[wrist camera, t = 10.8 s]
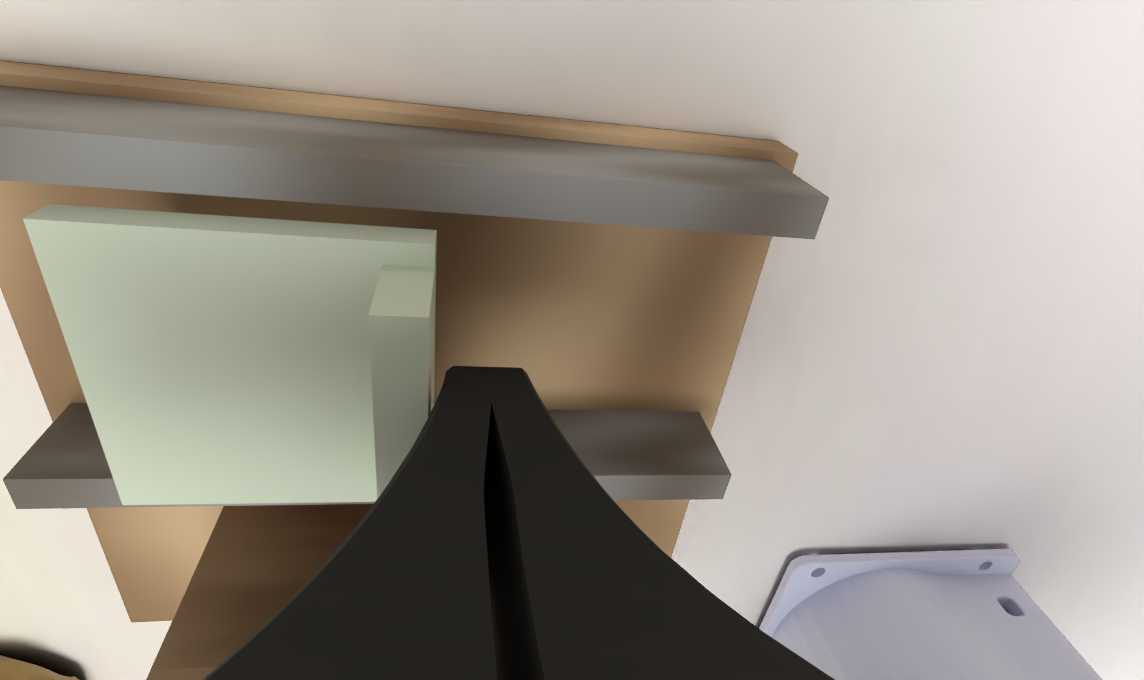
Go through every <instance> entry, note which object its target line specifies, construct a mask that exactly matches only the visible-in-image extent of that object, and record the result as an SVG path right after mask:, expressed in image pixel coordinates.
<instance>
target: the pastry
mask: <svg viewBox="0 0 1144 680" xmlns="http://www.w3.org/2000/svg"><path fill="white" fill-rule="evenodd" d="M0 680H79V679H78V678H76V677H75V676H73V677H67V676H63V675H59V674H57V673H55V672H53V671H50V670H48V669H45V668H43V667H40V666H37V665H34V664H31V663H27V662H23V661H19V660H16V659H12V658H9V657H5V656H1V655H0Z"/></svg>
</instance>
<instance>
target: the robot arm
mask: <svg viewBox="0 0 1144 680" xmlns="http://www.w3.org/2000/svg"><path fill="white" fill-rule="evenodd" d="M1019 562H1020V558H1019V556H1018V555H1017V554H1016V553H1015V552H1014V551H1013V550H1012V549H981V550H951V551H921V552H891V553H861V554H830V555H804V556H799V557H797V558H795V559H793V560H792V561H791V562H790V564H789V565H788V567H787V569H786V572H785V574H784V576H783V578H782V580H781V582H780V584H779V587H778V589H777V591H776V593H775V595H774V597H773V599H772V602H771V604H770V606H769V608H768V610H767V612H766V614H765V617H764V619H763V621H762V623H761V625H760V627H759V628H757V627H756V626H754V625H753V624H752V623H750V622H749V621H748V620H746V619H745V618H744V617H742V616H741V615H740V614H738V613H737V612H736V611H735V610H733V609H732V608H731V607H729V606H728V605H727V604H725V603H724V602H723V601H721V600H720V599H719V598H717V597H716V596H715V595H714V594H712V593H711V592H710V591H709V590H707V589H706V588H705V587H704V586H703V585H701V584H700V583H699V582H698V581H697V580H696V579H695V578H693V577H692V576H691V575H690V574H689V573H688V572H686V571H685V570H684V569H683V568H682V567H681V566H680V565H678V564H677V563H676V562H675V561H674V560H673V559H671V558H670V557H669V556H668V555H667V554H666V553H665V552H663V551H662V550H661V549H660V548H659V547H658V546H657V545H656V544H655V543H654V542H653V541H652V540H651V539H650V538H649V537H648V536H647V535H646V534H645V533H644V532H643V531H642V530H641V529H640V528H639V527H638V526H637V525H636V524H635V523H634V522H633V521H632V520H631V519H630V518H629V517H628V516H627V514H626V513H625V512H624V511H623V510H622V509H621V508H620V507H619V506H618V505H617V504H616V502H615V501H614V500H613V499H612V498H611V497H610V496H609V494H608V493H607V492H606V491H605V490H604V488H603V487H602V486H601V485H600V484H599V482H598V481H597V480H596V479H595V477H594V476H593V475H592V474H591V472H590V471H589V470H588V469H587V467H586V466H585V465H584V463H583V462H582V461H581V459H580V458H579V457H578V455H577V454H576V453H575V451H574V450H573V448H572V447H571V445H570V444H569V443H568V441H567V440H566V438H565V437H564V435H563V434H562V432H561V431H560V430H559V428H558V427H557V425H556V423H555V422H554V420H553V419H552V417H551V416H550V414H549V412H548V411H547V409H546V407H545V406H544V404H543V402H542V401H541V399H540V397H539V395H538V394H537V392H536V390H535V388H534V386H533V384H532V382H531V380H530V378H529V376H528V374H527V373H526V372H525V371H524V370H523V369H522V368H515V367H479V366H452V367H451V368H449V369H448V370H447V371H446V373H445V378H444V382H443V385H442V388H441V391H440V393H439V396H438V398H437V400H436V402H435V405H434V407H433V409H432V411H431V413H430V415H429V417H428V419H427V421H426V423H425V425H424V426H423V428H422V430H421V432H420V434H419V436H418V437H417V439H416V441H415V443H414V445H413V446H412V448H411V450H410V451H409V453H408V454H407V456H406V457H405V459H404V460H403V462H402V464H401V465H400V467H399V468H398V470H397V471H396V473H395V474H394V476H393V477H392V479H391V480H390V482H389V483H388V485H387V486H386V488H385V489H384V490H383V492H382V493H381V495H380V496H379V497H378V499H377V500H376V501H375V503H374V504H373V505H372V507H371V508H370V509H369V511H368V512H367V513H366V515H365V516H364V517H363V518H362V520H361V521H360V522H359V523H358V525H357V526H356V527H355V528H354V530H353V531H352V532H351V533H350V534H349V536H348V537H347V538H346V539H345V540H344V541H343V542H342V544H341V545H340V546H339V547H338V548H337V549H336V550H335V552H334V553H333V554H332V555H331V556H330V557H329V558H328V560H327V561H326V562H325V563H324V564H323V565H322V566H321V567H320V569H319V570H318V571H317V572H316V573H315V574H314V575H313V576H312V577H311V578H310V579H309V580H308V581H307V582H306V583H305V584H304V586H303V587H302V588H301V589H300V590H299V591H298V592H297V593H296V594H295V595H294V596H293V597H292V598H290V599H289V600H288V601H287V602H286V603H285V604H284V605H283V606H282V607H281V608H280V609H279V610H278V611H277V612H276V613H275V614H274V615H273V616H272V617H271V618H270V619H269V620H268V621H267V622H266V623H265V624H264V625H262V626H261V627H260V628H259V629H258V630H257V631H256V632H255V633H254V634H253V635H252V636H251V637H250V638H249V639H248V640H247V641H246V642H245V643H244V644H243V645H242V646H241V647H239V648H238V649H237V650H236V651H235V652H234V653H233V654H232V655H231V656H229V657H228V658H227V659H226V660H225V661H224V662H223V663H221V664H220V665H219V666H218V667H217V668H216V669H214V670H213V671H212V672H211V673H210V674H208V675H207V676H206V677H205V678H204V679H202V680H1102V679H1101V678H1100V676H1099V675H1098V674H1097V673H1096V672H1095V671H1094V670H1093V668H1092V667H1091V666H1090V665H1089V664H1088V663H1087V662H1086V660H1085V659H1084V658H1083V657H1082V656H1081V655H1080V654H1079V652H1078V651H1077V650H1076V649H1075V648H1074V647H1073V645H1072V644H1071V643H1070V642H1069V641H1068V640H1067V639H1066V637H1065V636H1064V635H1063V634H1062V633H1061V632H1060V631H1059V629H1058V628H1057V627H1056V626H1055V625H1054V624H1053V623H1052V621H1051V620H1050V619H1049V618H1048V617H1047V616H1046V615H1045V613H1044V612H1043V611H1042V610H1041V609H1040V608H1039V607H1038V605H1037V604H1036V603H1035V602H1034V601H1033V600H1032V599H1031V597H1030V596H1029V595H1028V594H1027V593H1026V592H1025V590H1024V589H1023V588H1022V587H1021V586H1020V585H1019V584H1018V582H1017V581H1016V580H1015V579H1014V578H1013V577H1012V576H1011V573H1012V572H1013V571H1014V569H1015V568H1016V567H1017V565H1018V564H1019Z"/></svg>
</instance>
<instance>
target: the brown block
mask: <svg viewBox="0 0 1144 680" xmlns="http://www.w3.org/2000/svg"><path fill="white" fill-rule="evenodd" d="M372 505H373V504H326V505H255V506H223V509H222V511H221V513H220V515H219V518H218V520H217V522H216V524H215V527H214V529H213V531H212V533H211V536H210V538H209V540H208V542H207V545H206V547H205V549H204V551H203V554H202V556H201V558H200V560H199V563H198V565H197V567H196V569H195V572H194V574H193V576H192V578H191V581H190V583H189V585H188V587H187V590H186V592H185V594H184V596H183V599H182V601H181V603H180V605H179V607H178V610H177V612H176V614H175V616H174V619H173V621H172V623H171V625H170V628H169V630H168V632H167V634H166V637H165V639H164V641H163V643H162V646H161V648H160V650H159V652H158V655H157V657H156V659H155V661H154V664H153V666H152V668H151V670H150V673H149V675H148V677H147V679H146V680H202V679H204V678H205V677H206V676H207V675H208V674H210V673H211V672H212V671H213V670H214V669H216V668H217V667H218V666H219V665H220V664H221V663H223V662H224V661H225V660H226V659H227V658H228V657H229V656H231V655H232V654H233V653H234V652H235V651H236V650H237V649H238V648H239V647H241V646H242V645H243V644H244V643H245V642H246V641H247V640H248V639H249V638H250V637H251V636H252V635H253V634H254V633H255V632H256V631H257V630H258V629H259V628H260V627H261V626H262V625H264V624H265V623H266V622H267V621H268V620H269V619H270V618H271V617H272V616H273V615H274V614H275V613H276V612H277V611H278V610H279V609H280V608H281V607H282V606H283V605H284V604H285V603H286V602H287V601H288V600H289V599H290V598H292V597H293V596H294V595H295V594H296V593H297V592H298V591H299V590H300V589H301V588H302V587H303V586H304V584H305V583H306V582H307V581H308V580H309V579H310V578H311V577H312V576H313V575H314V574H315V573H316V572H317V571H318V570H319V569H320V567H321V566H322V565H323V564H324V563H325V562H326V561H327V560H328V558H329V557H330V556H331V555H332V554H333V553H334V552H335V550H336V549H337V548H338V547H339V546H340V545H341V544H342V542H343V541H344V540H345V539H346V538H347V537H348V536H349V534H350V533H351V532H352V531H353V530H354V528H355V527H356V526H357V525H358V523H359V522H360V521H361V520H362V518H363V517H364V516H365V515H366V513H367V512H368V511H369V509H370V508H371V507H372Z"/></svg>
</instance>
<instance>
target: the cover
mask: <svg viewBox="0 0 1144 680" xmlns="http://www.w3.org/2000/svg"><path fill="white" fill-rule="evenodd" d="M23 221H24V224H25V226H26V229H27V232H28V235H29V238H30V241H31V244H32V247H33V249H34V252H35V255H36V258H37V261H38V264H39V267H40V270H41V272H42V275H43V278H44V281H45V284H46V287H47V290H48V293H49V295H50V298H51V301H52V304H53V307H54V310H55V313H56V316H57V318H58V321H59V324H60V327H61V330H62V333H63V336H64V339H65V341H66V344H67V347H68V350H69V353H70V356H71V359H72V362H73V364H74V367H75V370H76V373H77V376H78V379H79V382H80V385H81V387H82V390H83V393H84V396H85V399H86V402H87V405H88V408H89V410H90V413H91V416H92V419H93V422H94V425H95V428H96V431H97V433H98V436H99V439H100V442H101V445H102V448H103V451H104V454H105V456H106V459H107V462H108V465H109V468H110V471H111V474H112V477H113V479H114V482H115V485H116V488H117V491H118V494H119V497H120V500H121V502H122V505H176V504H251V503H325V502H375V501H376V500H377V499H378V497H379V496H380V495H381V493H382V492H383V490H384V489H385V488H386V486H387V485H388V483H389V482H390V480H391V479H392V477H393V476H394V474H395V473H396V471H397V470H398V468H399V467H400V465H401V464H402V462H403V460H404V459H405V457H406V456H407V454H408V453H409V451H410V450H411V448H412V446H413V445H414V443H415V441H416V439H417V437H418V436H419V434H420V432H421V430H422V428H423V426H424V425H425V423H426V421H427V419H428V417H429V415H430V413H431V411H432V409H433V407H434V368H435V303H436V239H437V230H429V229H414V228H399V227H384V226H369V225H354V224H339V223H324V222H309V221H294V220H279V219H265V218H250V217H235V216H220V215H205V214H190V213H175V212H160V211H145V210H130V209H115V208H100V207H85V206H70V205H55V204H47V205H45V206H43V207H42V208H40V209H38V210H37V211H35V212H33V213H32V214H30V215H28V216H27V217H25V218H23Z"/></svg>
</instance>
